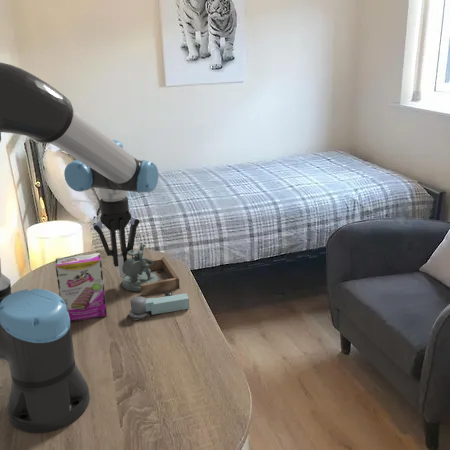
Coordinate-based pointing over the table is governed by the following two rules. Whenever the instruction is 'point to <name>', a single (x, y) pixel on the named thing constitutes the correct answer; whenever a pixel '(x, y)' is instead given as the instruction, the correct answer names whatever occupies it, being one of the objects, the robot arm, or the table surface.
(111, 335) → the table surface
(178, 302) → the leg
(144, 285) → the seat frame
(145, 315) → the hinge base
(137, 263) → the figurine
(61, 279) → the candy bar box
